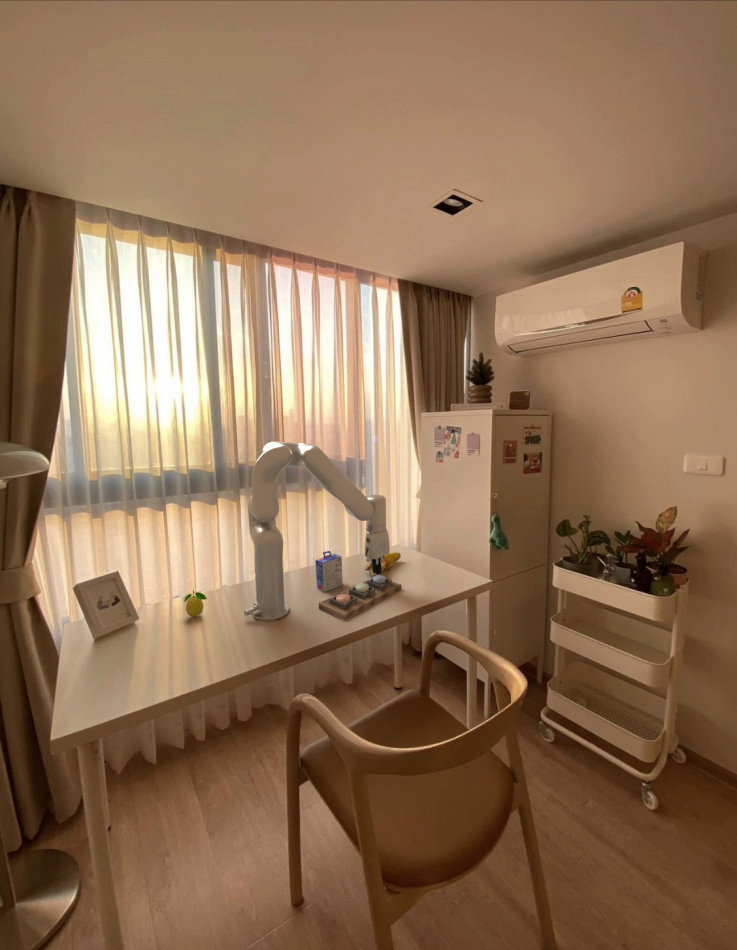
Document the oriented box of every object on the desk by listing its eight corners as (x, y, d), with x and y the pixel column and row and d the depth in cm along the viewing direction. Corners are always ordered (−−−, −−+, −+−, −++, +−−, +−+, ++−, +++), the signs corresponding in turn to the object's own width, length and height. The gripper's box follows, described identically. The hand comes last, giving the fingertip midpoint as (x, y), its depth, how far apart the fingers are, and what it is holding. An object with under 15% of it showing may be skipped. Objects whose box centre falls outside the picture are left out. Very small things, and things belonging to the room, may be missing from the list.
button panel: (344, 620, 137) (344, 610, 137) (318, 608, 146) (318, 598, 145) (401, 589, 161) (401, 580, 160) (376, 580, 170) (376, 571, 169)
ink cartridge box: (335, 581, 169) (334, 547, 167) (343, 585, 165) (342, 551, 163) (315, 588, 163) (314, 553, 160) (323, 592, 159) (322, 557, 156)
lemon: (208, 617, 140) (206, 590, 139) (190, 623, 136) (188, 595, 135) (200, 610, 145) (198, 584, 143) (183, 616, 141) (181, 589, 140)
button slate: (380, 586, 157) (380, 581, 157) (370, 582, 160) (370, 578, 160) (388, 582, 161) (388, 577, 160) (378, 578, 164) (378, 574, 164)
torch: (399, 569, 191) (369, 581, 170) (387, 558, 194) (356, 569, 174) (408, 556, 188) (378, 566, 168) (395, 545, 192) (365, 554, 171)
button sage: (362, 595, 150) (362, 590, 149) (352, 591, 153) (352, 586, 153) (371, 590, 153) (371, 585, 153) (361, 586, 157) (361, 582, 156)
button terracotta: (343, 607, 142) (343, 601, 142) (333, 602, 146) (333, 597, 145) (353, 602, 146) (353, 596, 146) (343, 597, 149) (343, 592, 149)
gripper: (370, 534, 147) (371, 581, 150) (396, 524, 158) (396, 569, 161) (355, 530, 152) (356, 576, 155) (381, 521, 163) (382, 564, 166)
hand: (377, 572), depth 158 cm, fingers closed
